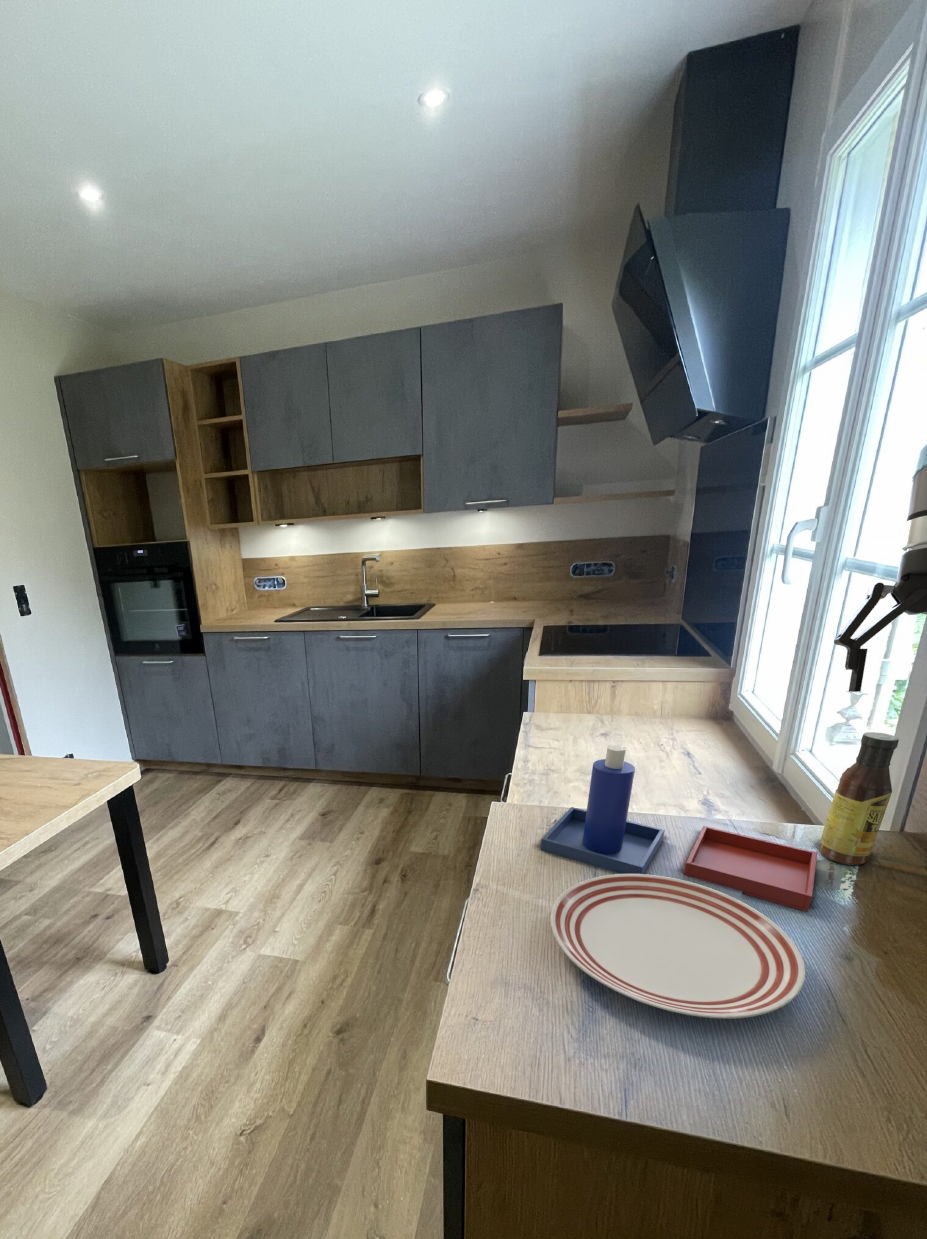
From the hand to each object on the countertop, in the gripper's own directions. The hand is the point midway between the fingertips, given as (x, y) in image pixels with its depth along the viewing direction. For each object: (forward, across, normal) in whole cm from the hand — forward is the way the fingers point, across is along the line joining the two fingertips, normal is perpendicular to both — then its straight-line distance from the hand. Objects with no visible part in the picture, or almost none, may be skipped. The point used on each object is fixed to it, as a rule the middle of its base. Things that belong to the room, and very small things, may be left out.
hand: (909, 694), depth 93 cm
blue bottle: (+27, +40, +14) cm, 51 cm away
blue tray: (+28, +40, +14) cm, 51 cm away
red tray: (+28, +20, +14) cm, 37 cm away
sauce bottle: (+26, +6, +4) cm, 27 cm away
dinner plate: (+35, +32, +38) cm, 60 cm away
